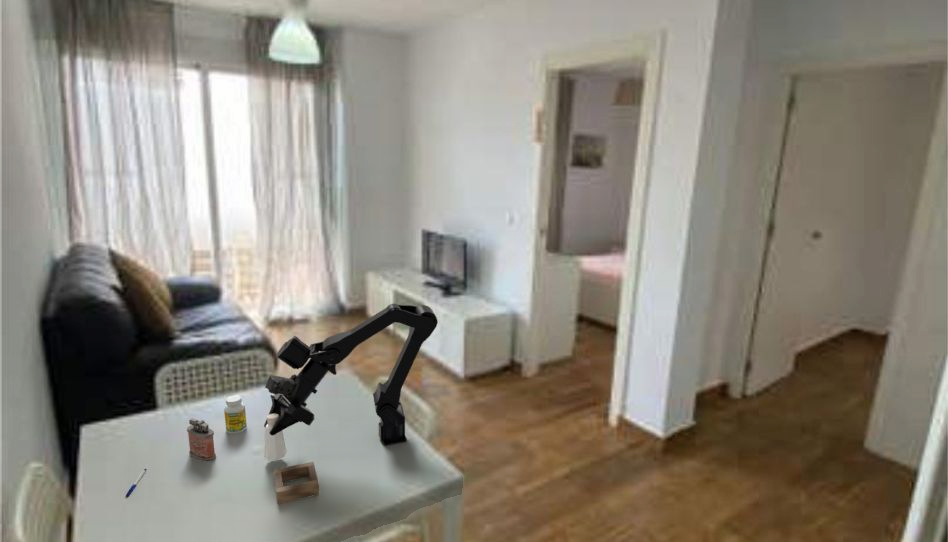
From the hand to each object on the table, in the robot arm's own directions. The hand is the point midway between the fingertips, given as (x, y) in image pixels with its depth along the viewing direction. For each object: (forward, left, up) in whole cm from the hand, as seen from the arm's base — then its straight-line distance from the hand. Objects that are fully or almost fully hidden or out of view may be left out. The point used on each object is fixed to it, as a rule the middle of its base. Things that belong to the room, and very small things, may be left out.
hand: (268, 430), depth 132 cm
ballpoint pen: (+30, -3, -9) cm, 31 cm away
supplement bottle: (+8, -20, -9) cm, 24 cm away
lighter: (+16, -9, -9) cm, 21 cm away
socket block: (-5, +13, -9) cm, 16 cm away
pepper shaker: (-1, 0, -7) cm, 8 cm away
